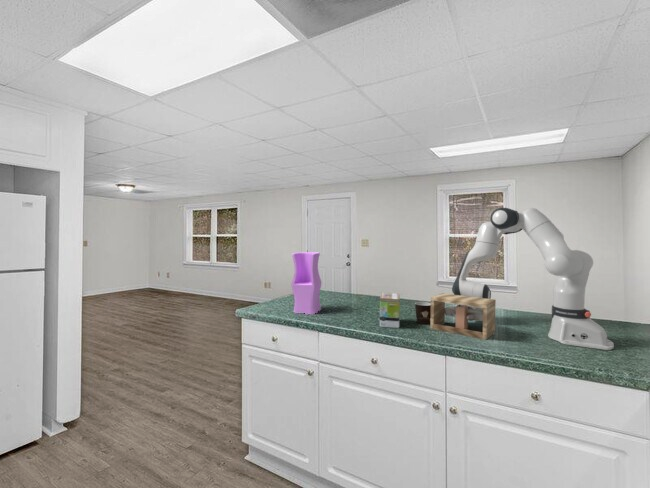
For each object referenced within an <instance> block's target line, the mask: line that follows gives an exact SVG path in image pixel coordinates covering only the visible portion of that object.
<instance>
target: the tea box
mask: <svg viewBox="0 0 650 488" xmlns="http://www.w3.org/2000/svg"><path fill="white" fill-rule="evenodd" d="M379 298H380V299H379V327H380V328H393V329H399V328H400V313H401V308H400V307H401V305H400V304H401V299H400V293H390V292H389V293H388V292H381V293H380V297H379Z"/></svg>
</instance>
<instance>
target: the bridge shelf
mask: <svg viewBox="0 0 650 488" xmlns="http://www.w3.org/2000/svg"><path fill="white" fill-rule="evenodd" d="M430 303H431V318H430V329H431V330H435V331H440V332H445V333H450V334H454V335H455V334H456V335H461V336H465V337H470V338H476V339H481V340H488V339H489V338H491V336H492V334H493V333H494V334H495V333H496V304H497V303H496V299H492V298H490V299H486V298H478V297H470V296H462V295H454V294H453V293H451V294H450V293H445V292H444V293H443V292H441V293H438V294H436V295H433V296H430ZM446 303H448V304H454V305H468V306H475V307H482V308H483V321H482V332H481V331H477V330H471V329H461V328H456V326H450V325H444V324H445V321H446V320H445V317H446V315H445V308H446V305H445V304H446ZM494 334H493V335H494Z"/></svg>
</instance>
